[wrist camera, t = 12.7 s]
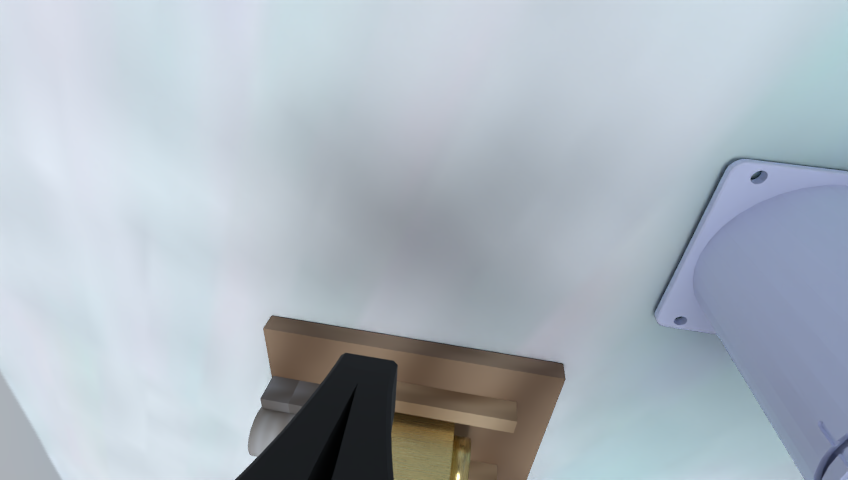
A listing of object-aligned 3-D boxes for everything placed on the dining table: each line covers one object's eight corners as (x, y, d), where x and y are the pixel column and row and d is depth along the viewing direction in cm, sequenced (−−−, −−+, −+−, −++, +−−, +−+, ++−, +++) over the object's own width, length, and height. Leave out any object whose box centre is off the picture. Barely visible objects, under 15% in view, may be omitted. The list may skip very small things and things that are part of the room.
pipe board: (563, 363, 22) (577, 456, 18) (518, 484, 29) (521, 573, 24) (271, 315, 24) (221, 391, 19) (291, 440, 30) (257, 518, 26)
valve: (474, 411, 24) (467, 523, 19) (466, 452, 26) (458, 562, 21) (344, 389, 25) (306, 492, 20) (347, 431, 27) (313, 533, 22)
